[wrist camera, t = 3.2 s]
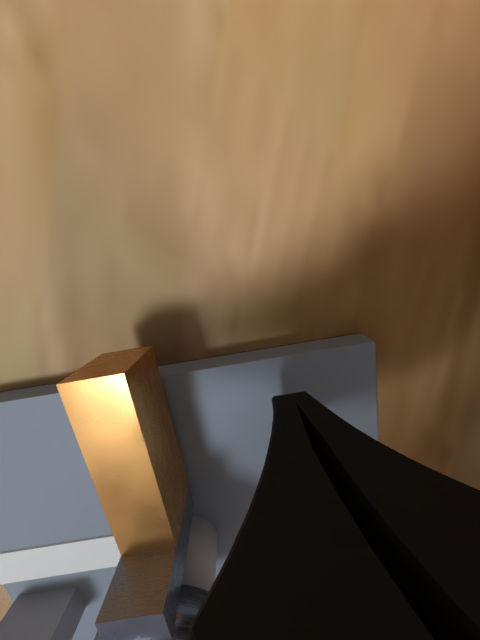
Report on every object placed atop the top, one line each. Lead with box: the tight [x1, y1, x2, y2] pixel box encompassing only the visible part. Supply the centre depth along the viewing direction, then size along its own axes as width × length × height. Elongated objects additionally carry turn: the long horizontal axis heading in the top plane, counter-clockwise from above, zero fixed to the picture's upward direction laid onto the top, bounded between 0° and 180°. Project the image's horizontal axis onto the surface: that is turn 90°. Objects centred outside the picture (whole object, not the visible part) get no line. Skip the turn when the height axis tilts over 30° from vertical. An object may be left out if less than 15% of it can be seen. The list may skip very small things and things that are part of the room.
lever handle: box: [56, 346, 209, 640], centre depth 8 cm, size 13×5×4 cm, turn 9°
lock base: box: [0, 333, 378, 640], centre depth 11 cm, size 18×20×4 cm
